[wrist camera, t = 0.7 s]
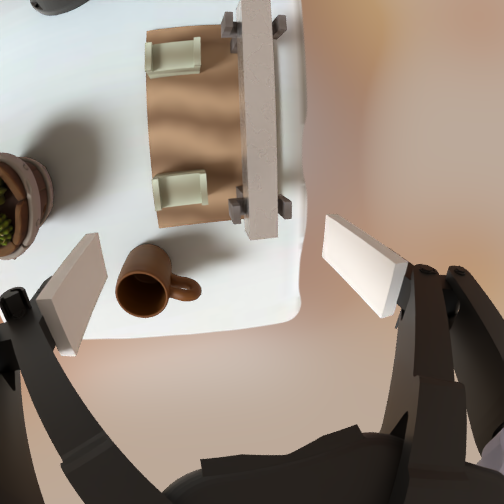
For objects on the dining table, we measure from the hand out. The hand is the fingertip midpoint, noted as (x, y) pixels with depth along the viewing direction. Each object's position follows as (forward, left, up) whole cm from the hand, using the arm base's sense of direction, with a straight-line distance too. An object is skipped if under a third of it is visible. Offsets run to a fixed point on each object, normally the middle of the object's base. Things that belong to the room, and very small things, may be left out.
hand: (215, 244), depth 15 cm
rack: (-8, +2, -27) cm, 28 cm away
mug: (+14, -7, -27) cm, 31 cm away
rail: (-8, +6, -18) cm, 20 cm away
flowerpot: (-2, -28, -27) cm, 39 cm away
